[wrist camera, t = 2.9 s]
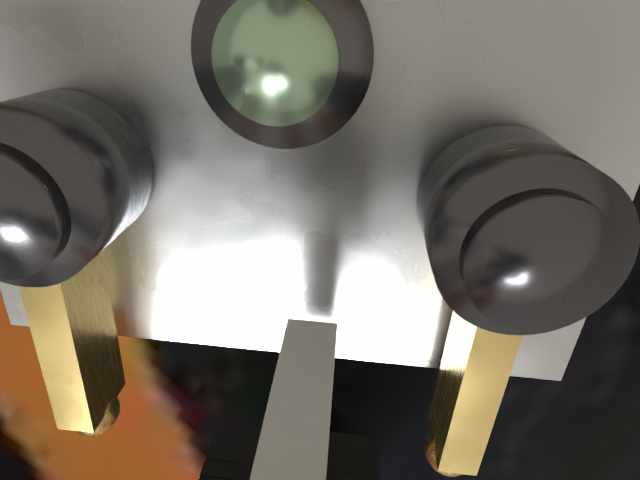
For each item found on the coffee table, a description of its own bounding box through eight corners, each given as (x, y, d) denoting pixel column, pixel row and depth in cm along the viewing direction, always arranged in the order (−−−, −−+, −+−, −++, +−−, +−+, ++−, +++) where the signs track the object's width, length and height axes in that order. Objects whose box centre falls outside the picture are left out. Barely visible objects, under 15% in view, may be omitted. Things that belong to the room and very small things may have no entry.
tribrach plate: (44, 294, 19) (-36, 365, 15) (-151, -496, 10) (-473, -815, 6) (540, 344, 18) (588, 431, 14) (829, -467, 9) (1173, -820, 5)
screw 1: (-13, 83, 13) (-150, 108, 9) (143, 95, 12) (61, 126, 9) (64, 387, 18) (-6, 476, 14) (175, 399, 18) (131, 492, 14)
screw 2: (430, 118, 12) (458, 159, 9) (599, 132, 12) (694, 179, 9) (378, 421, 17) (383, 521, 14) (496, 434, 17) (530, 539, 14)
